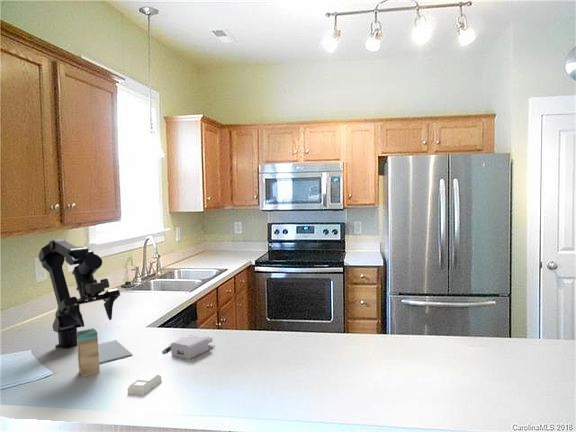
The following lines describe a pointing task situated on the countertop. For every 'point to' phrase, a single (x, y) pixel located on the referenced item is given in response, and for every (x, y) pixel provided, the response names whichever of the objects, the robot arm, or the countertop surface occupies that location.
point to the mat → (112, 351)
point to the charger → (190, 346)
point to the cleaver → (170, 347)
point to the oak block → (88, 352)
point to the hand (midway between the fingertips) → (97, 323)
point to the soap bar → (144, 384)
